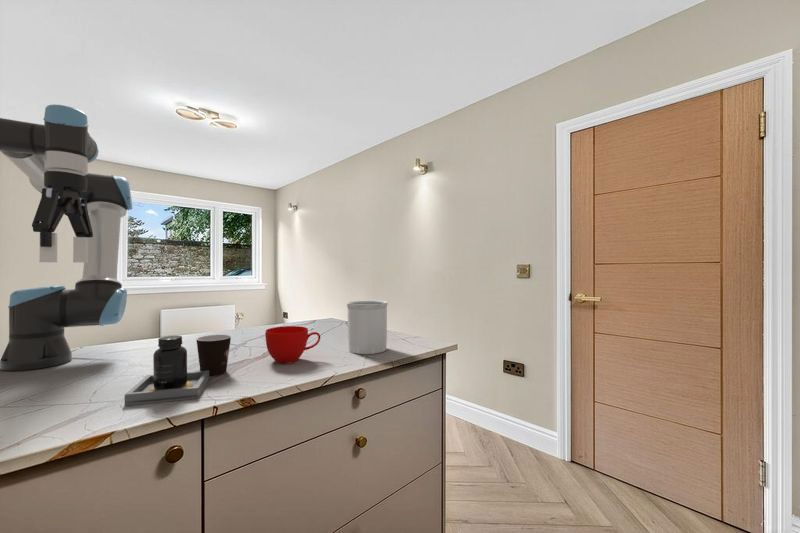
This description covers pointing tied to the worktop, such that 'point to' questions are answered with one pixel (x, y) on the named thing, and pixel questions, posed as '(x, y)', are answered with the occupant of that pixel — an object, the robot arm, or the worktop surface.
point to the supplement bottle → (170, 364)
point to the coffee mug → (213, 353)
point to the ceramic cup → (288, 342)
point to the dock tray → (167, 390)
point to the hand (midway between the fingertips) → (65, 262)
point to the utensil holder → (367, 326)
